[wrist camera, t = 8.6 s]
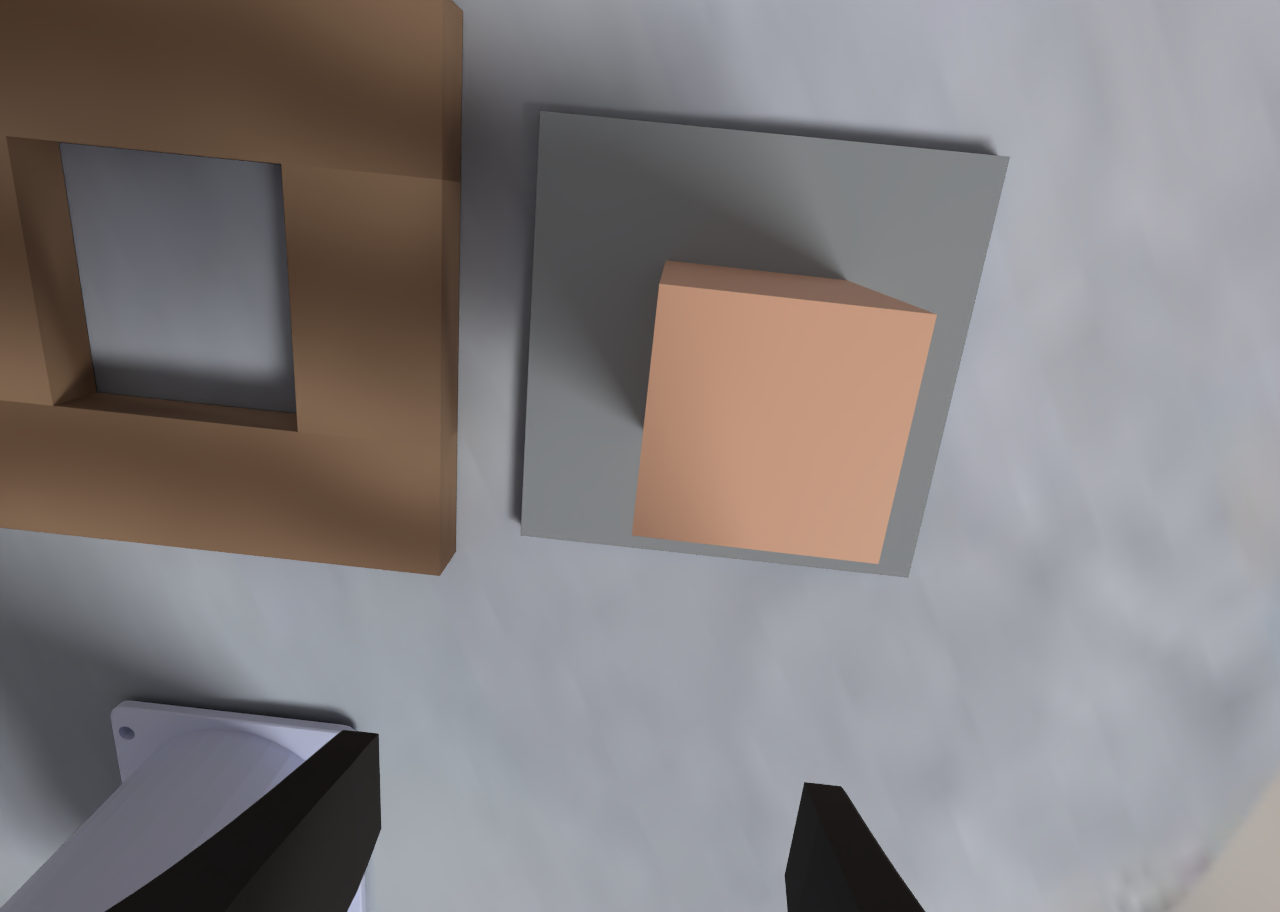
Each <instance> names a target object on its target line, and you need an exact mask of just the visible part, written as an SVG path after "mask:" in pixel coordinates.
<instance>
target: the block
mask: <svg viewBox="0 0 1280 912" xmlns="http://www.w3.org/2000/svg"><path fill="white" fill-rule="evenodd" d="M936 317H937V314H934V313H932V312H929V311H927V310H924V309H921V308H919V307H916V306H913V305H911V304H908V303H906V302H903V301H900V300H898V299H895V298H892V297H890V296H887V295H884V294H882V293H879V292H877V291H874V290H871V289H869V288H866V287H863V286H861V285H858V284H856V283H853V282H850V281H848V280H840V279H831V278H822V277H813V276H804V275H795V274H786V273H777V272H768V271H759V270H749V269H740V268H731V267H722V266H713V265H704V264H695V263H686V262H677V261H668V260H666V262H665V265H664V269H663V272H662V276H661V280H660V283H659V291H658V301H657V310H656V319H655V328H654V337H653V346H652V355H651V364H650V374H649V383H648V392H647V401H646V410H645V419H644V428H643V437H642V447H641V456H640V465H639V474H638V483H637V492H636V501H635V511H634V520H633V529H632V536H641V537H649V538H658V539H667V540H675V541H684V542H692V543H701V544H710V545H718V546H727V547H736V548H744V549H753V550H761V551H770V552H779V553H787V554H796V555H804V556H813V557H822V558H830V559H839V560H848V561H856V562H865V563H873V564H879V560H880V555H881V551H882V547H883V543H884V538H885V534H886V530H887V526H888V521H889V517H890V513H891V509H892V504H893V500H894V496H895V492H896V487H897V483H898V479H899V475H900V470H901V466H902V462H903V457H904V453H905V449H906V445H907V440H908V436H909V432H910V428H911V423H912V419H913V415H914V411H915V406H916V402H917V398H918V394H919V389H920V385H921V381H922V377H923V372H924V368H925V364H926V359H927V355H928V351H929V347H930V342H931V338H932V334H933V330H934V325H935V321H936Z"/></svg>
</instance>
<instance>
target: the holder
mask: <svg viewBox="0 0 1280 912" xmlns="http://www.w3.org/2000/svg"><path fill="white" fill-rule="evenodd" d="M462 51H463V11H462V10H461V9H460V8H459V7H458V6H457V5H456V4H455V3H454V2H453V1H452V0H0V528H9V529H18V530H27V531H36V532H46V533H55V534H64V535H73V536H82V537H91V538H100V539H109V540H118V541H127V542H137V543H146V544H155V545H164V546H173V547H182V548H191V549H200V550H209V551H219V552H228V553H237V554H246V555H255V556H264V557H273V558H282V559H291V560H300V561H310V562H319V563H328V564H337V565H346V566H355V567H364V568H373V569H382V570H391V571H401V572H410V573H419V574H428V575H437V576H440V575H441V573H442V572H443V570H444V569H445V567H446V566H447V564H448V563H449V561H450V560H451V558H452V557H453V555H454V554H455V552H456V498H457V423H458V349H459V275H460V200H461V126H462ZM59 142H60V143H70V144H80V145H90V146H100V147H110V148H120V149H130V150H140V151H150V152H160V153H170V154H180V155H190V156H200V157H210V158H220V159H230V160H240V161H250V162H260V163H270V164H280V165H281V167H282V183H283V199H284V216H285V232H286V248H287V264H288V281H289V297H290V313H291V329H292V346H293V362H294V378H295V394H296V411H297V414H295V413H286V412H276V411H267V410H258V409H248V408H239V407H229V406H220V405H210V404H201V403H192V402H182V401H173V400H163V399H154V398H145V397H135V396H126V395H116V394H107V393H98V392H97V390H96V383H95V377H94V370H93V364H92V357H91V351H90V344H89V337H88V331H87V324H86V318H85V311H84V305H83V298H82V292H81V285H80V279H79V272H78V266H77V259H76V253H75V246H74V239H73V233H72V226H71V220H70V213H69V207H68V200H67V194H66V187H65V181H64V174H63V168H62V161H61V154H60V148H59Z"/></svg>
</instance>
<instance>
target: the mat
mask: <svg viewBox="0 0 1280 912" xmlns="http://www.w3.org/2000/svg"><path fill="white" fill-rule="evenodd" d="M1009 158H1010V157H1007V156H997V155H987V154H976V153H966V152H956V151H946V150H936V149H925V148H915V147H905V146H895V145H885V144H874V143H864V142H854V141H844V140H834V139H823V138H813V137H803V136H793V135H783V134H772V133H762V132H752V131H742V130H732V129H721V128H711V127H701V126H691V125H681V124H670V123H660V122H650V121H640V120H630V119H620V118H609V117H599V116H589V115H579V114H569V113H558V112H548V111H540V121H539V143H538V165H537V187H536V209H535V231H534V253H533V275H532V297H531V319H530V341H529V363H528V385H527V408H526V430H525V452H524V474H523V496H522V518H521V536H530V537H540V538H549V539H558V540H567V541H577V542H586V543H595V544H604V545H613V546H623V547H632V548H641V549H650V550H659V551H669V552H678V553H687V554H696V555H705V556H715V557H724V558H733V559H742V560H751V561H761V562H770V563H779V564H788V565H797V566H807V567H816V568H825V569H834V570H843V571H853V572H862V573H871V574H880V575H889V576H899V577H908V576H909V572H910V568H911V564H912V560H913V556H914V551H915V547H916V543H917V539H918V535H919V531H920V527H921V522H922V518H923V514H924V510H925V506H926V502H927V498H928V493H929V489H930V485H931V481H932V477H933V473H934V469H935V465H936V460H937V456H938V452H939V448H940V444H941V440H942V436H943V431H944V427H945V423H946V419H947V415H948V411H949V407H950V402H951V398H952V394H953V390H954V386H955V382H956V378H957V373H958V369H959V365H960V361H961V357H962V353H963V349H964V345H965V340H966V336H967V332H968V328H969V324H970V320H971V316H972V311H973V307H974V303H975V299H976V295H977V291H978V287H979V282H980V278H981V274H982V270H983V266H984V262H985V258H986V253H987V249H988V245H989V241H990V237H991V233H992V229H993V224H994V220H995V216H996V212H997V208H998V204H999V200H1000V196H1001V191H1002V187H1003V183H1004V179H1005V175H1006V171H1007V167H1008V162H1009ZM666 260H668V261H677V262H686V263H695V264H704V265H713V266H722V267H731V268H740V269H749V270H759V271H768V272H777V273H786V274H795V275H804V276H813V277H822V278H831V279H840V280H848V281H850V282H853V283H856V284H858V285H861V286H863V287H866V288H869V289H871V290H874V291H877V292H879V293H882V294H884V295H887V296H890V297H892V298H895V299H898V300H900V301H903V302H906V303H908V304H911V305H913V306H916V307H919V308H921V309H924V310H927V311H929V312H932V313H934V314H937V317H936V321H935V325H934V330H933V334H932V338H931V342H930V347H929V351H928V355H927V359H926V364H925V368H924V372H923V377H922V381H921V385H920V389H919V394H918V398H917V402H916V406H915V411H914V415H913V419H912V423H911V428H910V432H909V436H908V440H907V445H906V449H905V453H904V457H903V462H902V466H901V470H900V475H899V479H898V483H897V487H896V492H895V496H894V500H893V504H892V509H891V513H890V517H889V521H888V526H887V530H886V534H885V538H884V543H883V547H882V551H881V555H880V560H879V564H873V563H865V562H856V561H848V560H839V559H830V558H822V557H813V556H804V555H796V554H787V553H779V552H770V551H761V550H753V549H744V548H736V547H727V546H718V545H710V544H701V543H692V542H684V541H675V540H667V539H658V538H649V537H641V536H632V529H633V520H634V511H635V501H636V492H637V483H638V474H639V465H640V456H641V447H642V437H643V428H644V419H645V410H646V401H647V392H648V383H649V374H650V364H651V355H652V346H653V337H654V328H655V319H656V310H657V301H658V291H659V283H660V280H661V276H662V272H663V269H664V265H665V262H666Z"/></svg>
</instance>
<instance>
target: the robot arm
mask: <svg viewBox="0 0 1280 912" xmlns="http://www.w3.org/2000/svg"><path fill="white" fill-rule="evenodd" d="M111 723H112V729H113V735H114V741H115V747H116V752H117V758H118V764H119V770H120V776H121V781H122V785H121V786H120V787H119V788H118V789H117V790H116V791H115V792H114V793H113V794H112V795H111V796H110V797H109V798H108V799H107V800H106V801H105V802H104V803H103V804H102V805H101V806H100V807H99V808H98V809H97V810H96V811H95V812H94V813H93V814H92V815H91V816H90V817H89V818H88V819H87V820H86V821H85V822H84V823H83V824H82V825H81V826H80V827H79V828H78V830H77V831H76V832H75V833H74V834H73V835H72V836H71V837H70V838H69V839H68V840H67V841H66V842H65V843H64V844H63V845H62V846H61V847H60V848H59V849H58V850H57V851H56V852H55V853H54V854H53V855H52V856H51V857H50V858H49V859H48V860H47V861H46V862H45V863H44V864H43V865H42V866H41V867H40V868H39V869H38V870H37V871H36V872H35V873H34V874H33V875H32V876H31V878H30V879H29V880H28V881H27V882H26V883H25V884H24V885H23V886H22V887H21V888H20V889H19V890H18V891H17V892H16V893H15V894H14V895H13V896H12V897H11V898H10V899H9V900H8V901H7V902H6V903H5V904H4V905H3V906H2V907H1V908H0V912H366V900H365V874H364V873H365V870H366V868H367V865H368V863H369V860H370V857H371V854H372V852H373V849H374V846H375V844H376V841H377V838H378V836H379V833H380V830H381V805H380V769H379V734H376V733H367V732H359V731H355V730H354V729H353V728H351V727H350V726H346V725H341V724H332V723H323V722H315V721H306V720H297V719H288V718H279V717H271V716H262V715H253V714H244V713H235V712H227V711H218V710H209V709H200V708H192V707H183V706H174V705H165V704H156V703H148V702H139V701H123V702H121V703H120V704H119V705H118V706H116V707H115V708H114V709H113V710H112V712H111ZM130 728H131V729H130ZM785 883H786V895H787V907H788V912H925V911H924V909H923V908H922V906H921V905H920V904H919V902H918V901H917V899H916V898H915V897H914V895H913V894H912V892H911V891H910V889H909V888H908V887H907V885H906V884H905V882H904V881H903V880H902V878H901V877H900V875H899V874H898V872H897V871H896V869H895V868H894V866H893V865H892V863H891V862H890V861H889V859H888V857H887V856H886V854H885V853H884V851H883V850H882V848H881V847H880V845H879V844H878V842H877V841H876V839H875V838H874V836H873V835H872V833H871V831H870V830H869V828H868V827H867V825H866V824H865V822H864V821H863V819H862V817H861V816H860V814H859V813H858V811H857V809H856V808H855V806H854V805H853V803H852V801H851V800H850V798H849V797H848V795H847V794H846V792H845V791H844V790H843V788H842V787H841V786H832V785H824V784H815V783H806V782H804V787H803V792H802V796H801V801H800V806H799V811H798V815H797V820H796V825H795V829H794V834H793V839H792V844H791V848H790V853H789V858H788V863H787V867H786V872H785Z"/></svg>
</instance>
